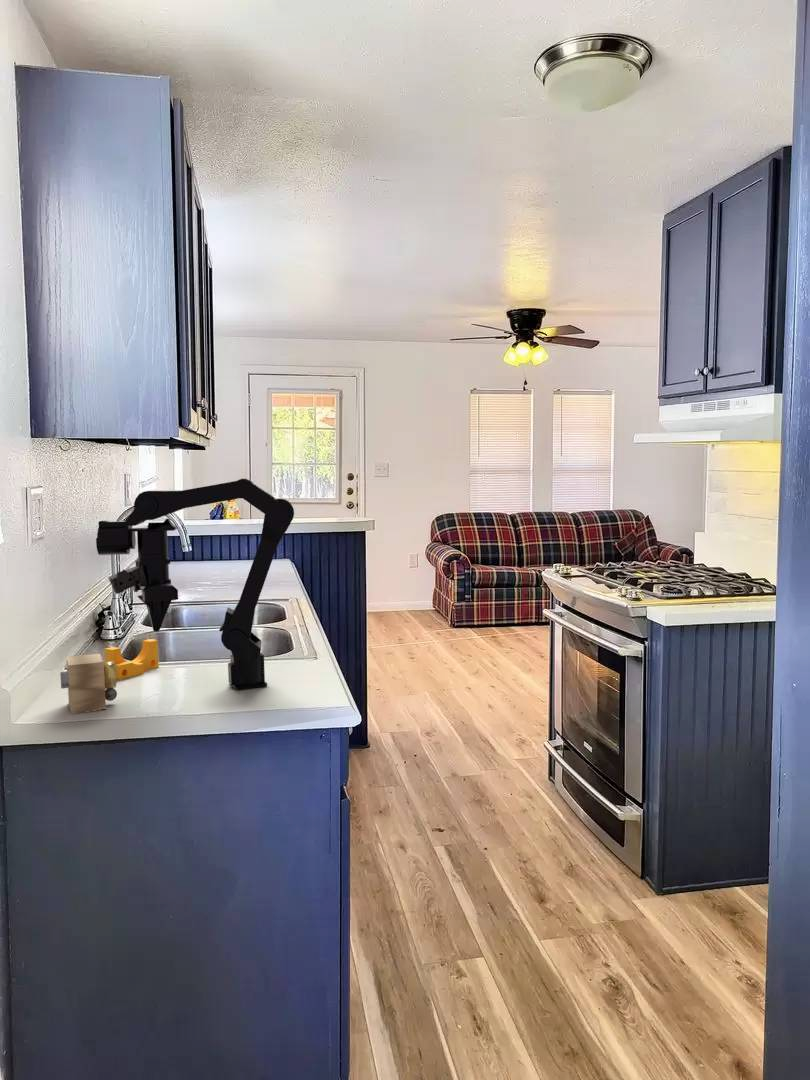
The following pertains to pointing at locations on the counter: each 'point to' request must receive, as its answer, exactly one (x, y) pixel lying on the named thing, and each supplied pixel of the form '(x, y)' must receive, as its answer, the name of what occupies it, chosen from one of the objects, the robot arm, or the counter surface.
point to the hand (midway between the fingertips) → (156, 631)
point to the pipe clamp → (136, 666)
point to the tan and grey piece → (108, 676)
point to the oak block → (86, 683)
